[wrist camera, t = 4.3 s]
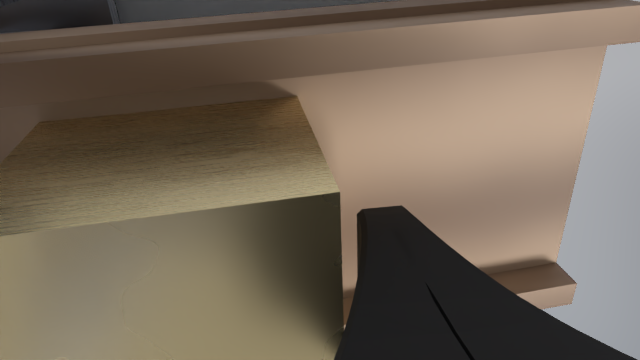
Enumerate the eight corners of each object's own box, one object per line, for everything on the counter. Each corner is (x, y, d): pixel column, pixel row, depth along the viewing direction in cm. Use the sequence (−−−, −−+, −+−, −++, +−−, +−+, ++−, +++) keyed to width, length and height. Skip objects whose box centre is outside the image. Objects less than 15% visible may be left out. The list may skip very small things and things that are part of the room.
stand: (189, 306, 19) (158, 452, 14) (61, 319, 19) (-21, 474, 13) (90, -100, 12) (-45, -117, 7) (-112, -88, 12) (-411, -99, 7)
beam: (532, 267, 16) (587, 327, 14) (-458, 437, 12) (-624, 561, 10) (591, -16, 12) (686, -2, 9) (-901, 108, 8) (-1383, 187, 6)
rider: (310, 283, 13) (347, 430, 9) (106, 315, 13) (54, 489, 9) (297, 95, 11) (340, 191, 7) (38, 121, 10) (-78, 246, 6)
